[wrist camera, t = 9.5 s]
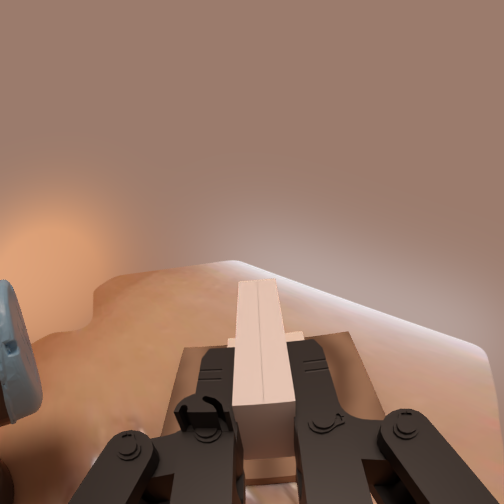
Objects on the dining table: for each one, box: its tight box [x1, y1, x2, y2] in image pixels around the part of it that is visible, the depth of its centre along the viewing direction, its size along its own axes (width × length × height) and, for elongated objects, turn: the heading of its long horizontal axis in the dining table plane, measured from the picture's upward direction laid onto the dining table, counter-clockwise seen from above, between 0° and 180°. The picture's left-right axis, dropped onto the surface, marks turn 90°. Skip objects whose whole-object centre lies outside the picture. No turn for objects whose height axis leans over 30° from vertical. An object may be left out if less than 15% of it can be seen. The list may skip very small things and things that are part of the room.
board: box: [161, 332, 386, 486], centre depth 33 cm, size 24×22×2 cm
